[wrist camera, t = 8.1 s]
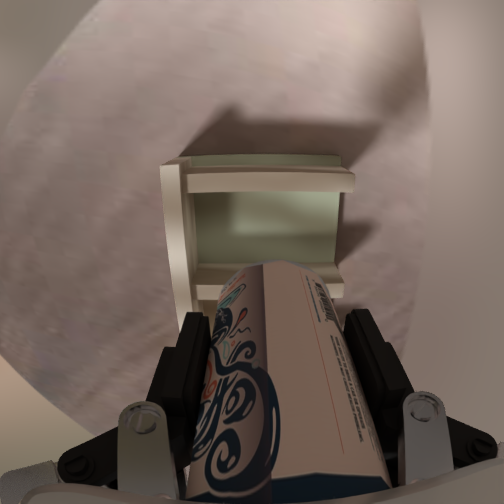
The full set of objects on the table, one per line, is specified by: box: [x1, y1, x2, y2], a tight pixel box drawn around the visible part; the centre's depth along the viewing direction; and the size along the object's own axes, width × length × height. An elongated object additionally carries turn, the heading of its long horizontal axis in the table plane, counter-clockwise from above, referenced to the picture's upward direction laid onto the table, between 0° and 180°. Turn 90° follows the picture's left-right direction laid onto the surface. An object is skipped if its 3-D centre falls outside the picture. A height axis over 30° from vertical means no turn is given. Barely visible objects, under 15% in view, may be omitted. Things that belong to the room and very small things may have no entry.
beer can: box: [185, 259, 393, 504], centre depth 8 cm, size 5×5×12 cm
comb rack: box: [160, 154, 355, 339], centre depth 24 cm, size 18×12×5 cm, turn 1°
